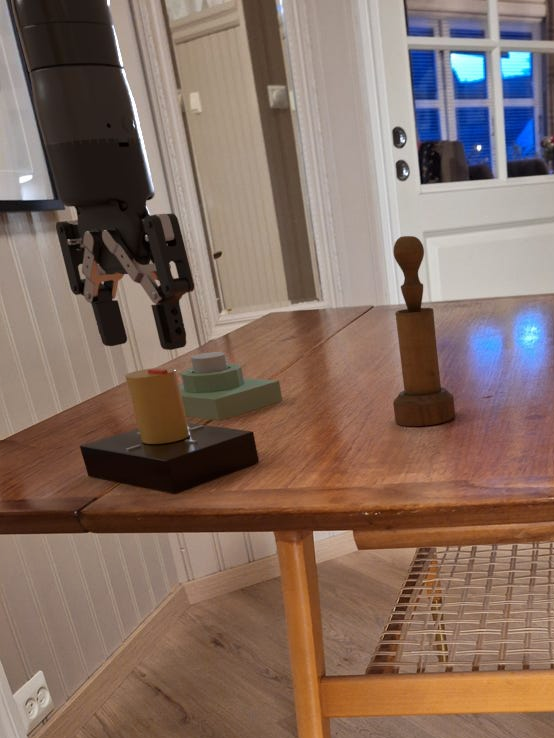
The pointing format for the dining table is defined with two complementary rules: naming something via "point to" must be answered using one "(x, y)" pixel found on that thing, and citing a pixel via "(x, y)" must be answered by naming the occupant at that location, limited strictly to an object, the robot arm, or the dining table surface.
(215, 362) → the grey push button
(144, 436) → the lock knob
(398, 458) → the dining table surface
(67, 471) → the dining table surface
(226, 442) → the panel
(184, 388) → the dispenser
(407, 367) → the mortar and pestle
